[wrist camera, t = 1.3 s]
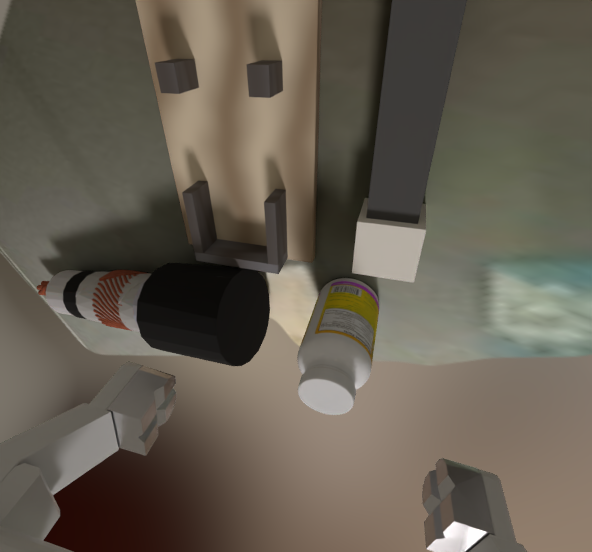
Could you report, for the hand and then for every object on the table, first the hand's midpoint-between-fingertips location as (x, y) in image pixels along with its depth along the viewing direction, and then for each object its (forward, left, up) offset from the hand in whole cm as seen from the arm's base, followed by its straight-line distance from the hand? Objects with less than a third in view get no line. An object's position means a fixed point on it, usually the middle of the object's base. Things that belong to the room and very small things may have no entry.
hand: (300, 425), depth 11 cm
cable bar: (-2, -2, -25) cm, 25 cm away
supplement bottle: (+1, +15, -25) cm, 29 cm away
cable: (+27, +18, -25) cm, 41 cm away
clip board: (+12, -2, -24) cm, 27 cm away
